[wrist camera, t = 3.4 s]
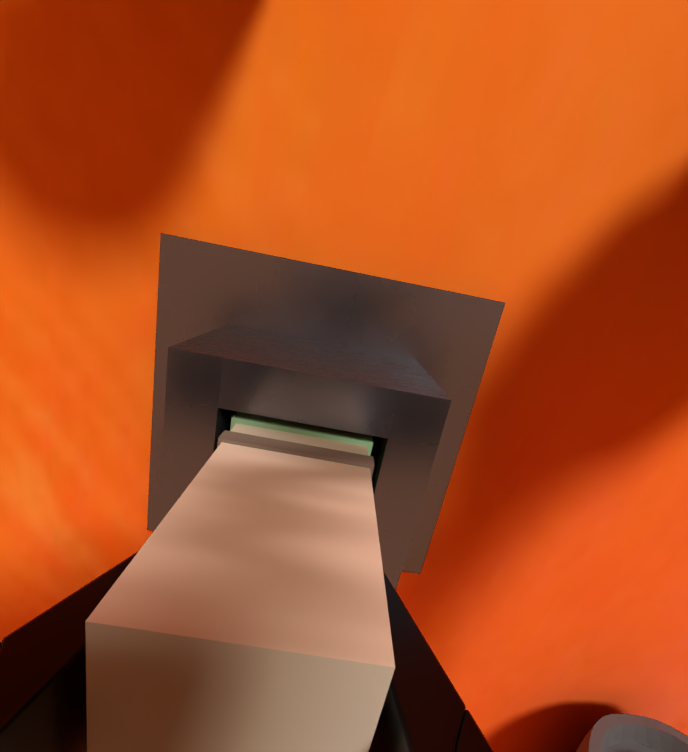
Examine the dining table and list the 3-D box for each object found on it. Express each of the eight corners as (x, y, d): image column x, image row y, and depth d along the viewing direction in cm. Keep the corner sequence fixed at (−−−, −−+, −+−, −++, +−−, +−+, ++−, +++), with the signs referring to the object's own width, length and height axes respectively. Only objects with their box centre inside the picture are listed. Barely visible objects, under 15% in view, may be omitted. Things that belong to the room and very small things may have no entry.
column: (368, 411, 13) (409, 660, 5) (345, 507, 14) (346, 851, 6) (254, 390, 13) (73, 610, 4) (241, 490, 14) (78, 818, 5)
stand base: (497, 301, 15) (621, 320, 8) (417, 561, 19) (457, 721, 12) (170, 235, 14) (14, 197, 8) (155, 518, 18) (42, 662, 11)
